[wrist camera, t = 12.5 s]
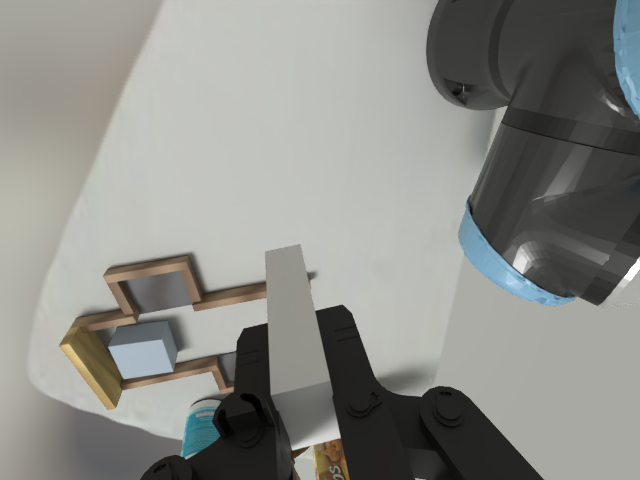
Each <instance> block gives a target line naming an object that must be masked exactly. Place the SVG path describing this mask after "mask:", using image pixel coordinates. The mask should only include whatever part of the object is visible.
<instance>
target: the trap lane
mask: <svg viewBox="0 0 640 480" xmlns="http://www.w3.org/2000/svg"><path fill="white" fill-rule="evenodd" d="M103 277H104V279H105V281H106V283H107V284H108V286H109V288H110V290H111V291H112V293H113V295H114V297H115V299H116V300H117V302H118V304H119V306H120V308H121V309H122V310H117V311H112V312H106V313H101V314H96V315H90V316H85V317H80V318H76V320H75V321H74V323H73V324H72V326H71V327H70V329H69V331H68V332H67V334H66V335H65V337H64V338H63V340H62V342H61V343H60V345H59V347H60V348H61V349H62V351H63V352H64V353H65V355H66V356H67V357H68V359H69V360H70V361H71V363H72V364H73V365H74V366H75V368H76V369H77V370H78V372H79V373H80V374H81V376H82V377H83V378H84V380H85V381H86V382H87V384H88V385H89V386H90V388H91V389H92V390H93V391H94V393H95V394H96V395H97V397H98V398H99V399H100V401H101V402H102V403H103V405H104V406H105V407H106V409H107V410H110V409H115V408H116V407H117V404H118V401H119V398H120V396H121V393H122V390H127V389H131V388H136V387H141V386H145V385H150V384H155V383H159V382H164V381H169V380H173V379H178V378H183V377H188V376H192V375H197V374H202V373H206V372H211V371H212V373H213V376H214V378H215V380H216V383H217V385H218V388H219V390H220V392H221V394H224V393H229V392H233V391H234V378H235V369H236V367H235V364H236V352H231V353H226V354H221V355H217V356H212V357H207V358H202V359H198V360H193V361H188V362H183V363H178V364H175V367H174V371H173V372H168V373H161V374H155V375H148V376H142V377H135V378H129V379H123V377H122V375H121V373H120V371H119V369H118V367H117V364H116V363H115V361H114V360H113V358H112V357H111V355H110V353H109V352H108V350H107V349H106V347H105V346H104V344H103V343H102V341H101V340H100V338H99V337H98V335H97V333H96V332H95V331H96V330H101V329H106V328H111V327H117V326H122V325H127V324H132V323H136V322H137V320H138V317H139V315H140V314H144V313H149V312H154V311H160V310H165V309H170V308H176V307H181V306H186V305H191V304H192V306H193V309H194V311H200V310H205V309H210V308H216V307H221V306H226V305H231V304H236V303H242V302H247V301H252V300H257V299H262V298H267V287H266V283H262V284H256V285H251V286H246V287H240V288H235V289H230V290H224V291H219V292H214V293H208V294H203V295H202V292H201V289H200V286H199V284H198V281H197V278H196V276H195V273H194V270H193V267H192V265H191V262H190V259H189V256H182V257H176V258H170V259H165V260H159V261H153V262H147V263H141V264H136V265H130V266H124V267H118V268H112V269H107V271H106V272H105V274H104V275H103ZM307 277H308V282H309V286H310V289H311V285H310V280H309V276H308V275H307Z"/></svg>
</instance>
